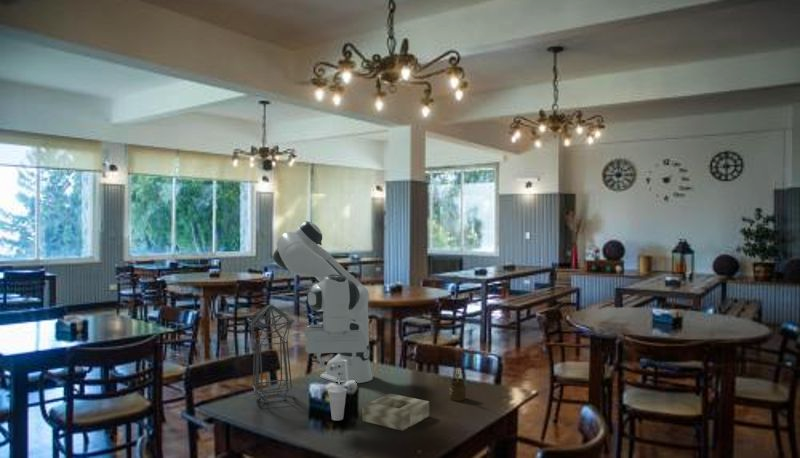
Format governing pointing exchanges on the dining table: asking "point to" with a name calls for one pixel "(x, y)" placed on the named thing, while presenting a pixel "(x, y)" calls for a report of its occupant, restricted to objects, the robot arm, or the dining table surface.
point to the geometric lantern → (270, 344)
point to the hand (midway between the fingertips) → (336, 365)
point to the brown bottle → (457, 388)
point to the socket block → (395, 411)
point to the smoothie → (337, 401)
